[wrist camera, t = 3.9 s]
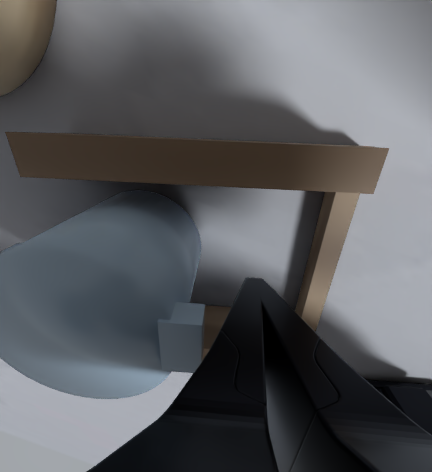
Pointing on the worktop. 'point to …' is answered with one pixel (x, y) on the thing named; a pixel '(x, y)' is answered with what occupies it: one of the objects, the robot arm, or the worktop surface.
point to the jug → (105, 299)
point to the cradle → (222, 184)
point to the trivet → (23, 39)
